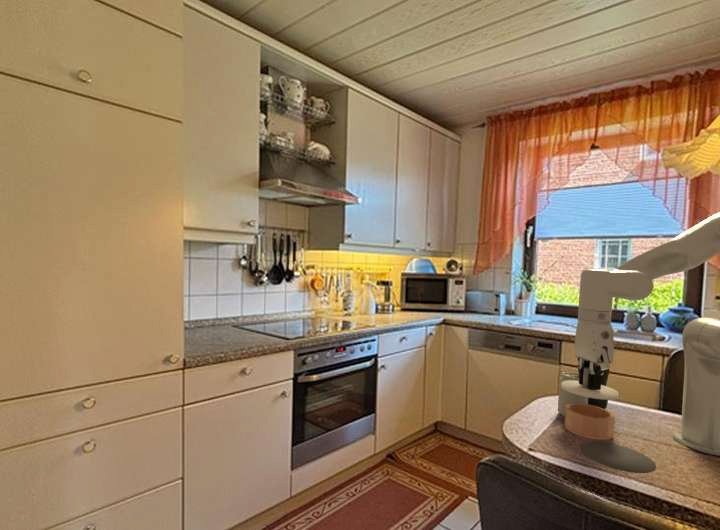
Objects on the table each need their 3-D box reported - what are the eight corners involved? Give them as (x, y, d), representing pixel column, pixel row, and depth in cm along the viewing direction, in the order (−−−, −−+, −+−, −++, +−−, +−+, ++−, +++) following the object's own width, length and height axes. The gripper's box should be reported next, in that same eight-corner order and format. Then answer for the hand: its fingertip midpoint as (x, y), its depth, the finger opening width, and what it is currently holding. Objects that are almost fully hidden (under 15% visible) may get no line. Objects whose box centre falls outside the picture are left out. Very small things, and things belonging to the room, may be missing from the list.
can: (590, 422, 113) (593, 379, 113) (561, 419, 114) (564, 376, 114) (581, 412, 120) (584, 372, 120) (554, 409, 122) (556, 369, 121)
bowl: (595, 423, 112) (596, 404, 112) (623, 441, 101) (624, 419, 101) (556, 422, 111) (557, 402, 111) (579, 440, 100) (581, 418, 100)
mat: (625, 444, 99) (625, 442, 99) (673, 475, 85) (673, 473, 85) (568, 442, 99) (568, 440, 99) (606, 473, 84) (606, 471, 84)
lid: (597, 384, 113) (599, 363, 113) (630, 400, 100) (632, 377, 100) (551, 382, 112) (553, 361, 112) (578, 398, 99) (580, 374, 99)
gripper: (630, 322, 98) (625, 398, 98) (589, 313, 114) (584, 378, 114) (600, 320, 97) (594, 397, 98) (563, 311, 114) (558, 377, 114)
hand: (589, 386), depth 106 cm, fingers closed on lid, 3 cm apart
